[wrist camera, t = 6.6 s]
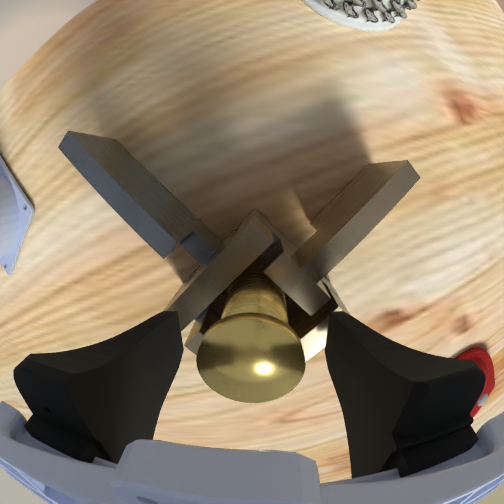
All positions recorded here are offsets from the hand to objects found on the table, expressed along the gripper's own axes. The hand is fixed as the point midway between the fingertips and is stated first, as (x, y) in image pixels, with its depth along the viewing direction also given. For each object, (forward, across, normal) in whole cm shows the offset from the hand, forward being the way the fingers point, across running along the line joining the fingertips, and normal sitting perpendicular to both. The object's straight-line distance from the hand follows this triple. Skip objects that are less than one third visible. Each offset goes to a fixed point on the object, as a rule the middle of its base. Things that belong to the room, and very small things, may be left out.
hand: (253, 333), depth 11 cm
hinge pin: (+6, 0, -1) cm, 6 cm away
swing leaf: (+6, -2, -2) cm, 6 cm away
